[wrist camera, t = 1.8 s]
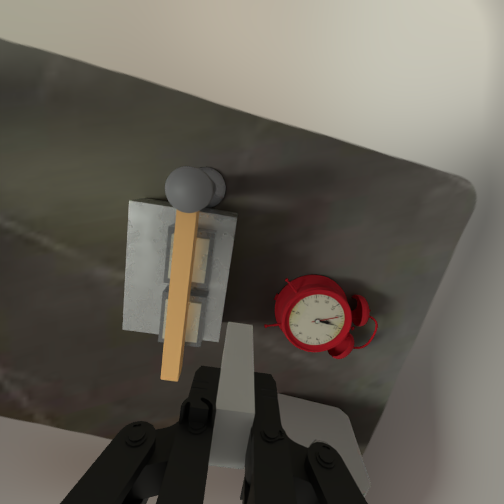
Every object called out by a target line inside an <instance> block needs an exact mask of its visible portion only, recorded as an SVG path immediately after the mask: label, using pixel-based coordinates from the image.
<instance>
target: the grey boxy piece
mask: <svg viewBox="0 0 504 504" xmlns="http://www.w3.org/2000/svg"><path fill="white" fill-rule="evenodd" d="M198 169H200V170H202V171H204V172H205V173H207V174H208V175H209V177H210V178H211V179H212V180H213V181H214V183H215V185H216V191H215V194H214V195H213V198H212V200H211V202H210V203H209V204H208V205H207V206H206V207H205V208H203V209H201V210H200V213H199V222H198V231H197V239H196V248H195V257H194V266H193V274H192V283H191V292H190V300H189V309H188V318H187V327H186V335H185V344H184V345H188V346H195V347H201V343H202V340H207V341H214V342H219V336H220V330H221V325H222V318H223V311H224V305H225V298H226V291H227V285H228V278H229V271H230V265H231V258H232V251H233V244H234V238H235V231H236V224H237V218H238V213H236V212H230V211H224V210H217V209H211V208H210V207H213V206H216V205H217V204H219V203H220V202H221V201H222V199H223V198H224V195H225V192H226V185H225V181H224V179H223V177H222V176H221V174H220V173H219V172H218V171H216V170H214V169H212V168H209V167H201V168H198ZM176 210H177V209H175V208H174V207H173V206H172V205H171V204H170V202H168V201H161V200H155V199H149V198H142V199H135V200H129V214H128V233H127V253H126V272H125V292H124V311H123V330H131V331H138V332H146V333H153V334H159V338H158V342H164V338H165V327H166V317H167V306H168V295H169V285H170V274H171V263H172V253H173V242H174V232H175V221H176Z"/></svg>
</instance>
